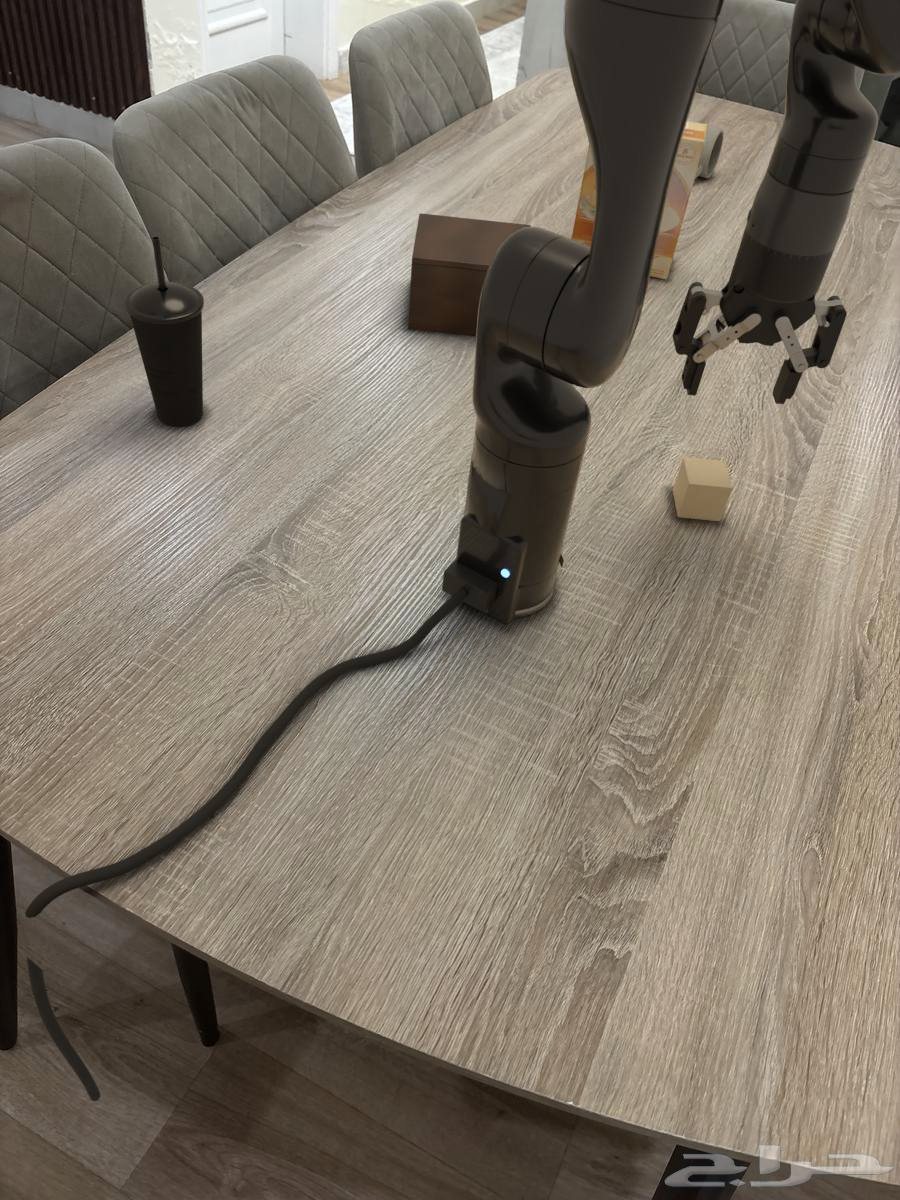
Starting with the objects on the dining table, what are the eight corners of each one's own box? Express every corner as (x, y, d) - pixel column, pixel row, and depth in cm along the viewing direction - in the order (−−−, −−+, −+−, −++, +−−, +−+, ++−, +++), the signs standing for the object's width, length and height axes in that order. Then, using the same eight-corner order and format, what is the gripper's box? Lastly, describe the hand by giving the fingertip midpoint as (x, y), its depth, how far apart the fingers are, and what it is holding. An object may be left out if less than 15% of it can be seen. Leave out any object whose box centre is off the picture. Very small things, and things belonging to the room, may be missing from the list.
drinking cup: (146, 438, 100) (114, 258, 86) (142, 397, 105) (112, 221, 91) (219, 431, 102) (200, 255, 87) (212, 392, 107) (193, 219, 92)
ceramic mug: (672, 158, 169) (683, 113, 164) (716, 170, 167) (728, 125, 162) (653, 178, 163) (664, 131, 157) (698, 190, 160) (711, 144, 155)
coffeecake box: (566, 261, 137) (592, 120, 123) (573, 241, 142) (599, 103, 128) (667, 281, 136) (705, 140, 122) (671, 260, 141) (708, 122, 127)
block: (713, 494, 102) (725, 461, 98) (719, 521, 98) (732, 488, 95) (672, 490, 101) (683, 456, 98) (677, 517, 98) (689, 483, 95)
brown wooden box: (520, 293, 129) (530, 224, 123) (521, 340, 121) (532, 269, 114) (414, 282, 129) (419, 212, 122) (407, 328, 120) (412, 257, 113)
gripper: (714, 243, 76) (665, 411, 87) (888, 260, 76) (815, 425, 88) (701, 203, 81) (656, 367, 93) (863, 220, 81) (798, 380, 93)
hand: (734, 395), depth 90 cm, fingers open, 8 cm apart
